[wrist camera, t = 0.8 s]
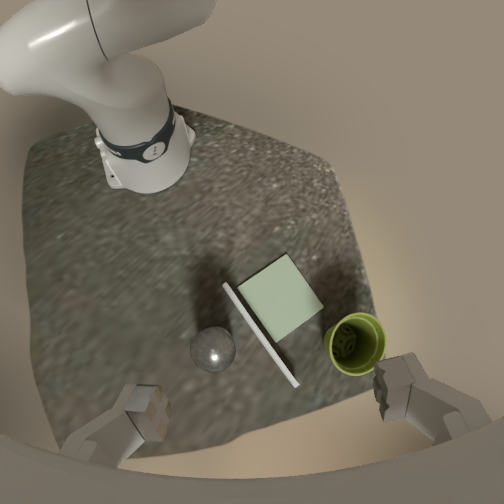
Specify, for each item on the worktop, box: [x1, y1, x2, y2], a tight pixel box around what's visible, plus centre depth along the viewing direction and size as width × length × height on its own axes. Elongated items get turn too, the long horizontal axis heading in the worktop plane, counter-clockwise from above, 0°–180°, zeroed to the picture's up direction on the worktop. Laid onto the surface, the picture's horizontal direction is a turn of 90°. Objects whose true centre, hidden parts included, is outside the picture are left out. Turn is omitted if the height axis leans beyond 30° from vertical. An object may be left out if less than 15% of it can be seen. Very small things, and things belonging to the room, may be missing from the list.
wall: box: [222, 282, 299, 388], centre depth 48 cm, size 20×1×3 cm, turn 35°
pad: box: [237, 254, 324, 342], centre depth 51 cm, size 11×10×1 cm
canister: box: [190, 326, 236, 372], centre depth 44 cm, size 6×6×11 cm
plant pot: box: [323, 313, 387, 376], centre depth 46 cm, size 9×9×9 cm
